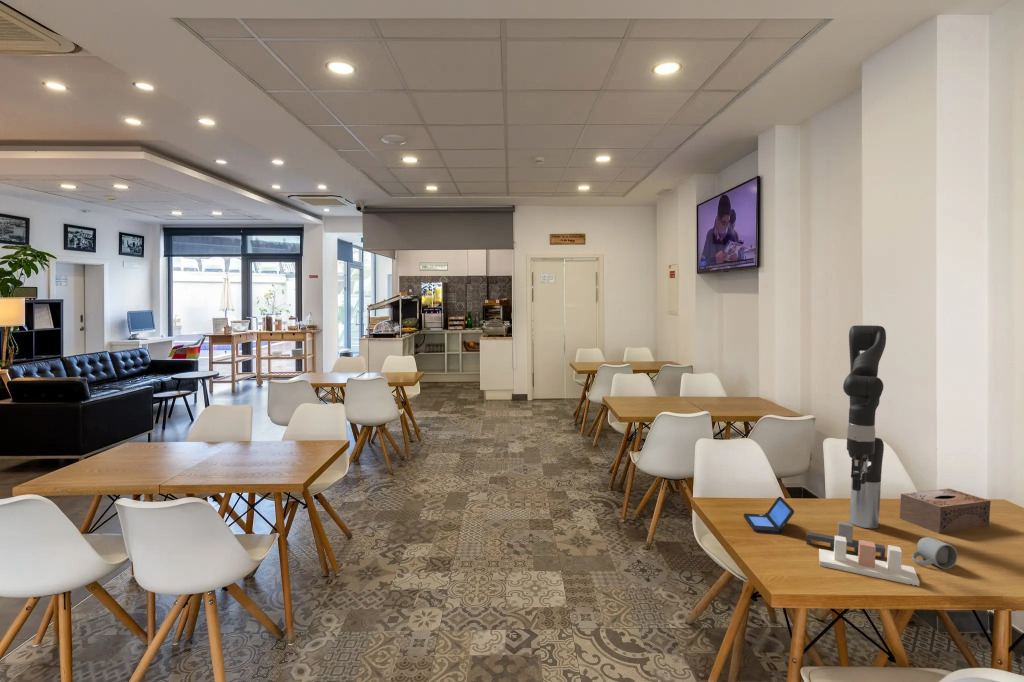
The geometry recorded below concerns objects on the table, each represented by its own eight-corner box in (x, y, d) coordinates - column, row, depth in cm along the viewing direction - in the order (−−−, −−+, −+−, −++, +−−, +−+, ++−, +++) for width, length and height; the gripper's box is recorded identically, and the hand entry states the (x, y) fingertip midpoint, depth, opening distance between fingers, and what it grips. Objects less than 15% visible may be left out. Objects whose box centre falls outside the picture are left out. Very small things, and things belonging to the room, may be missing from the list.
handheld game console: (742, 516, 206) (743, 493, 206) (779, 519, 204) (780, 495, 204) (754, 533, 191) (755, 507, 190) (794, 536, 189) (795, 510, 188)
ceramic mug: (933, 556, 173) (934, 533, 173) (957, 568, 165) (958, 544, 165) (904, 558, 172) (905, 535, 172) (926, 570, 164) (927, 546, 163)
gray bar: (806, 541, 184) (807, 515, 183) (883, 555, 173) (884, 528, 173) (806, 544, 181) (807, 518, 181) (884, 559, 171) (886, 532, 170)
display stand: (818, 553, 175) (819, 529, 174) (912, 571, 163) (914, 546, 162) (819, 565, 166) (820, 540, 165) (919, 586, 154) (920, 559, 153)
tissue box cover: (947, 512, 213) (949, 488, 212) (988, 526, 199) (990, 500, 199) (899, 519, 206) (900, 493, 205) (938, 534, 192) (940, 507, 191)
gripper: (851, 431, 178) (849, 478, 180) (843, 439, 168) (841, 490, 169) (878, 435, 173) (875, 483, 175) (871, 444, 163) (869, 495, 164)
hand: (858, 486), depth 172 cm, fingers open, 8 cm apart
